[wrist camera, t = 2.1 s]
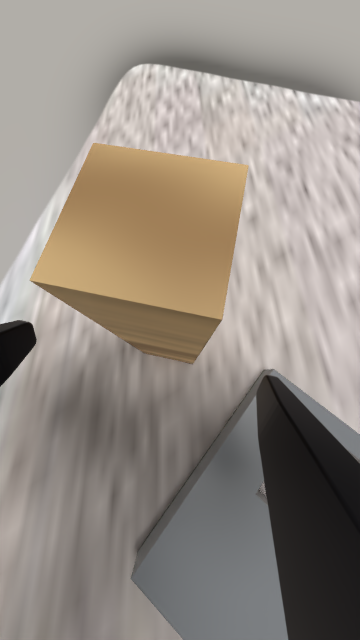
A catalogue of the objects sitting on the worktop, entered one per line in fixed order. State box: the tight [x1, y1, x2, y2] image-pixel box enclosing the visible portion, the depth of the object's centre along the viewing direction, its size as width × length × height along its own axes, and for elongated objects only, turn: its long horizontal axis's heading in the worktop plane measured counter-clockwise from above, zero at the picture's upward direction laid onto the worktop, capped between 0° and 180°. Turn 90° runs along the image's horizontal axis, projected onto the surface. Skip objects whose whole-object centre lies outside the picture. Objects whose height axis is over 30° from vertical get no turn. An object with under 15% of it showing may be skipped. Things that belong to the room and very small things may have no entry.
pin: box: [30, 143, 248, 364], centre depth 12 cm, size 4×4×14 cm
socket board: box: [131, 369, 360, 640], centre depth 14 cm, size 16×13×2 cm
